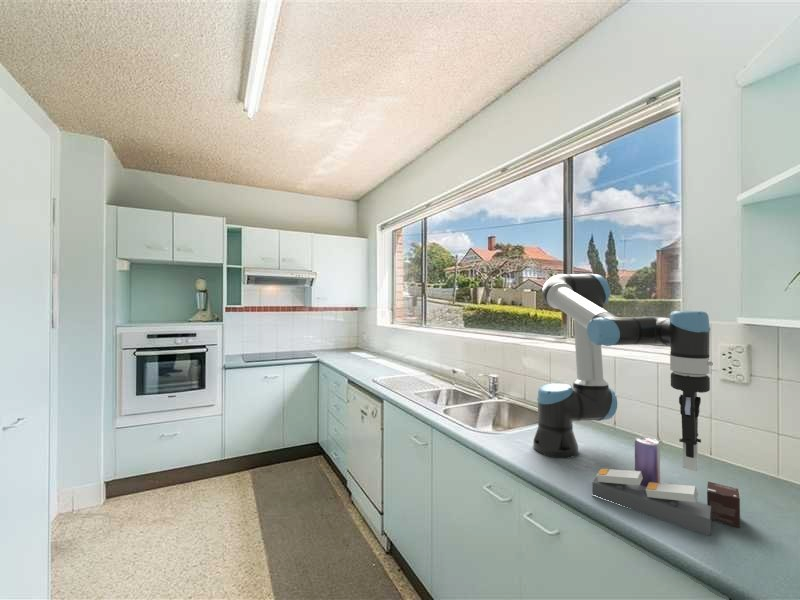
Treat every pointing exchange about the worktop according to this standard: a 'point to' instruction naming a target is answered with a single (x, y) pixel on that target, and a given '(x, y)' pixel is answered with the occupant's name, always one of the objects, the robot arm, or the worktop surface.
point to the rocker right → (672, 492)
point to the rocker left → (620, 476)
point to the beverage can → (647, 459)
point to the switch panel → (656, 505)
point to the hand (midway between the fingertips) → (690, 468)
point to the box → (724, 504)
